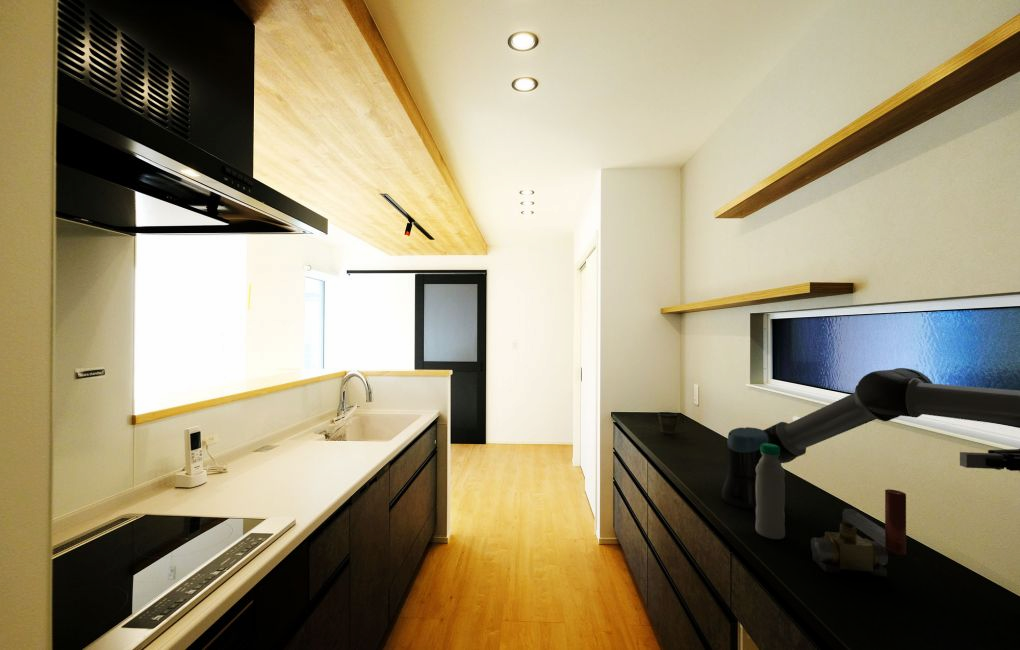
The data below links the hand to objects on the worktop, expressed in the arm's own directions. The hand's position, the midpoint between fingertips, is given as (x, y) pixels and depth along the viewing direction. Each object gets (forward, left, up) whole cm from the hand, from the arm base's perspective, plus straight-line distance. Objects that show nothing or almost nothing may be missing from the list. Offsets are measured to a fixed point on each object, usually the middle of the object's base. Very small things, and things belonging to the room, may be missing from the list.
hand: (963, 459), depth 85 cm
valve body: (-15, -12, -31) cm, 37 cm away
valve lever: (-7, -12, -21) cm, 25 cm away
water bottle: (-30, -23, -32) cm, 49 cm away
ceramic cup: (-144, -24, -32) cm, 150 cm away
